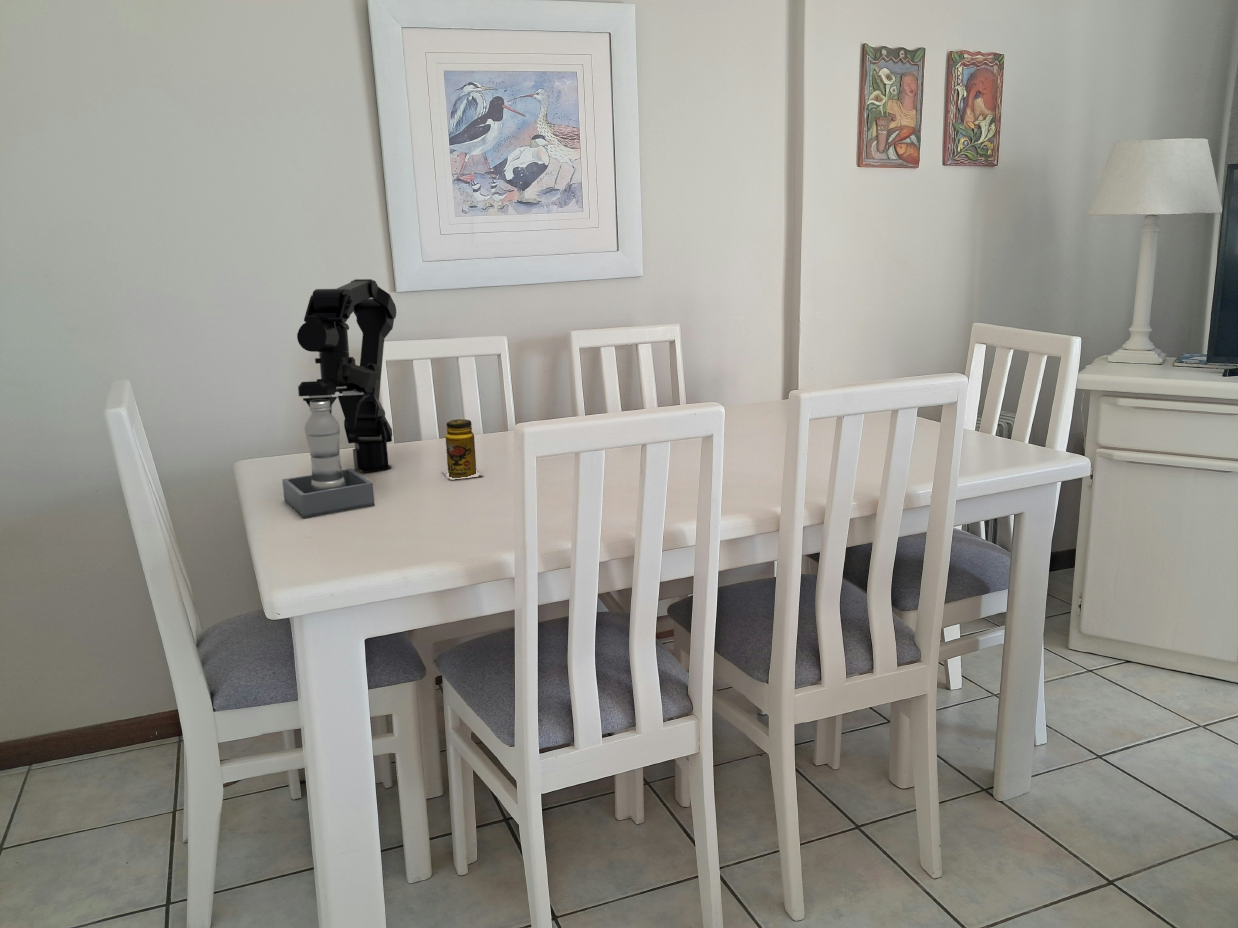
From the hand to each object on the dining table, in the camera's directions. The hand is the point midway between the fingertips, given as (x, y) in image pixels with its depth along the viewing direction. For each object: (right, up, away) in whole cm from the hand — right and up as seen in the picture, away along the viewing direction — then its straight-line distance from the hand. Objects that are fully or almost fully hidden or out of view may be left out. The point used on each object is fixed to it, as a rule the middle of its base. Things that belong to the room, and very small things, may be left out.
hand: (340, 430), depth 186 cm
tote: (-1, -14, -5) cm, 15 cm away
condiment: (+22, -9, +15) cm, 28 cm away
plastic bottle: (0, -14, -6) cm, 15 cm away
